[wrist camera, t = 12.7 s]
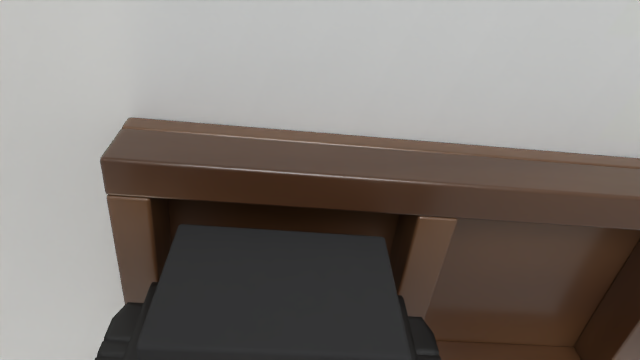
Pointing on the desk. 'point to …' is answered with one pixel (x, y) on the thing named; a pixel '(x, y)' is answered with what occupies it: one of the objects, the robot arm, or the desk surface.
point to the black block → (274, 298)
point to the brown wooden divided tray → (408, 225)
